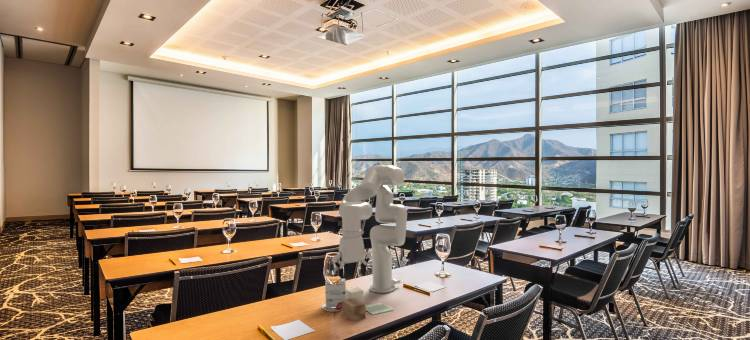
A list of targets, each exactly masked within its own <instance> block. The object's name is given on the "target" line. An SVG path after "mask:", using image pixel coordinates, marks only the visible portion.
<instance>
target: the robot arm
mask: <svg viewBox="0 0 750 340" xmlns="http://www.w3.org/2000/svg"><path fill="white" fill-rule="evenodd" d="M405 179H406V178H405V172H404V170H403V168H400V167H398V166H395V165H391V164H387V165H386V164H382V165H372V166H370V167H368V169H367V171H366V173H365V175H364V177H363V178H362V181H361V183H360V184H358V185H357V186H355V187H354V188H352V189H351V190H349V191H348V192H347V193H346V194H344V196H343V197H342V200H341V202H340V204H339V207H338V208H339V209H338V213H339V216H340V217H341V218H342V219H341V221H342V225H341V227H342V229H341V230H342V233H341V234H342V237H340V240H339V245H338V253H336V254H335V255H334V256H333V257H332V258H331V261H332V263H333V265H334V266H336V268H337V270H338V271H337V272H338V273H337V274H338V276H339V279H345V273H344V272H345V270H344V268H343V267H344V266H345V264H351V263H358V262H360V275H363V276H366V272H367V265H368V263H369V261H370V258H372V261H371V262H372V265H371V266H372V285H370V286H369V291H371V292H373V293H376V294H377V293H378V294H386V293H387V294H388V293H392V292H394V291H395V290H396V286H395V285H397V284H401V279H396V278H393V277H392V276H393V275H392V274H393V273H392V272H393V271H392V269H393V263H392V259H393V257H392V252H391V249H390V248H389V246H393V247H394V246H395V247H397V246H398V247H401V246H403V245H405V242H406V234H407V221H408V213H407V211H408V210H407V207H406V206H405V205H404V204H398V203H397V204H395V203H394V193H393V191H392V190H391V188H390V187H389V186H401V185H403V184H404V182H405ZM375 196H376V201H375V212H374V219H375V221H376V222H377V223H380V224H395V225H374V226H373V227H371V228H370V231H369V238H370V242H371V252H369V251H366V250H365V244H364V239H363V236H362V235H363V234H365V233H364V232H365V231H364V229H361V225H362V223H361V221H365V220H369V219H370V218H371V217H372V215H373V206H372V204H371V203H369V202H366V200H368V199H371V198H374V197H375ZM365 255H366V256H365ZM371 256H372V257H371Z"/></svg>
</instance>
